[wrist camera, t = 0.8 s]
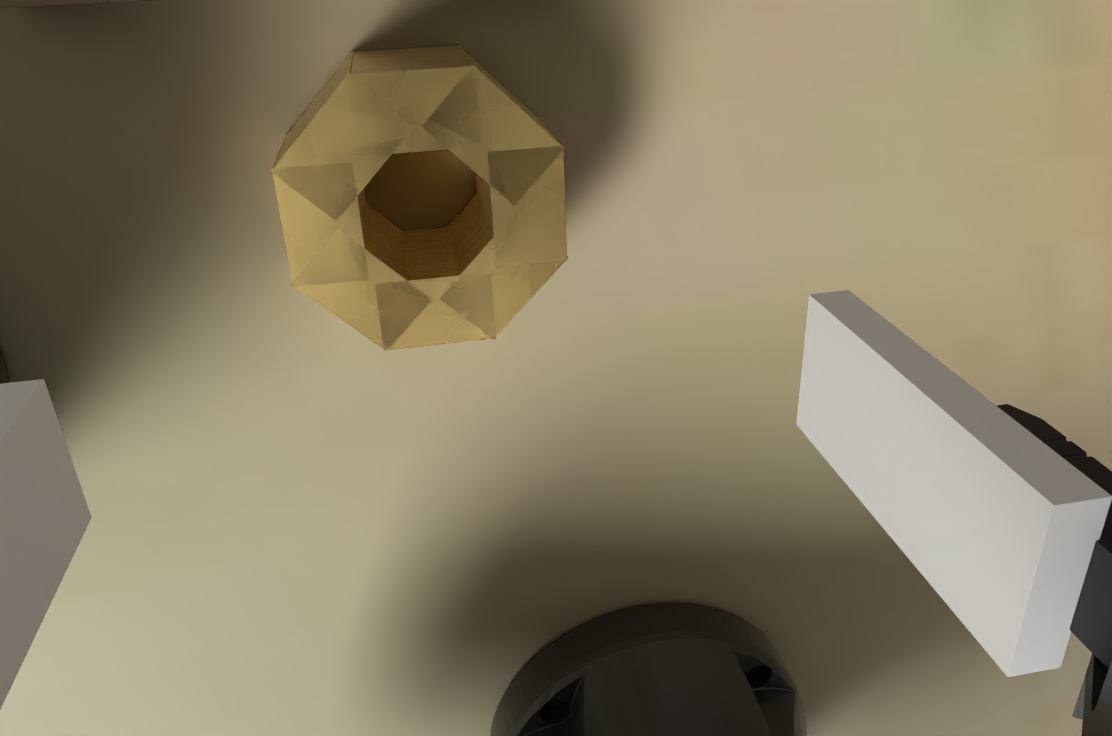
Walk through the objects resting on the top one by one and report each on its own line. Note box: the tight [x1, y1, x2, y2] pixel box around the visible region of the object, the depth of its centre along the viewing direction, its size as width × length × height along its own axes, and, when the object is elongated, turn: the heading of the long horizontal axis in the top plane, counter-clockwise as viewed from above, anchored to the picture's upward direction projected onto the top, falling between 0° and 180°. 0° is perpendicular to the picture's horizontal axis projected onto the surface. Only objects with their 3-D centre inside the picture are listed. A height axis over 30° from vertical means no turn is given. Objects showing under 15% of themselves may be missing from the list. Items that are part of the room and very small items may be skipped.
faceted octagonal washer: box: [271, 44, 568, 351], centre depth 28 cm, size 8×8×5 cm
